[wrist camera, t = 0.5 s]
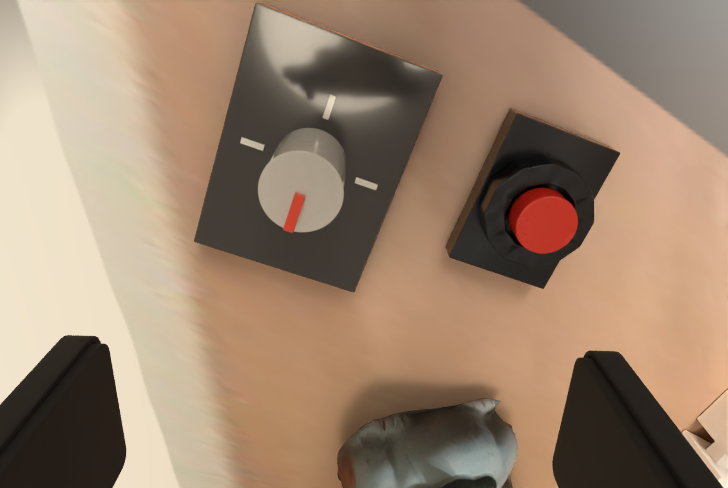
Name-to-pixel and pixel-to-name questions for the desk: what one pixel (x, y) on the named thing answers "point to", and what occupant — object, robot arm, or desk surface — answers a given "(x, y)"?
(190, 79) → the desk surface
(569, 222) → the button
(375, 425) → the lucky cat figurine
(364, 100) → the hob console
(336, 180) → the hob knob
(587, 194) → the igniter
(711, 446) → the organizer
